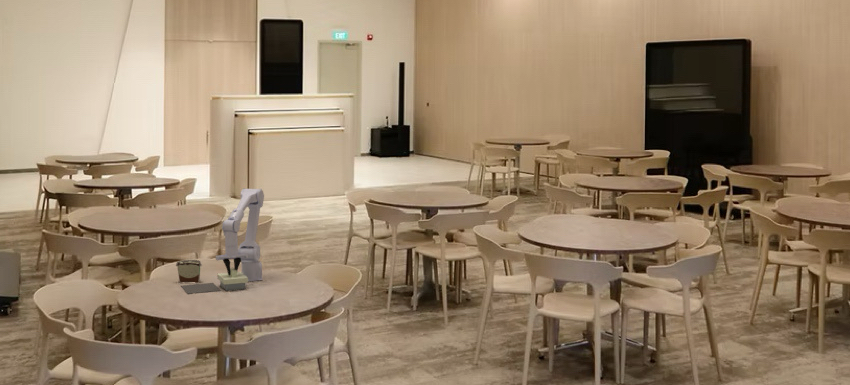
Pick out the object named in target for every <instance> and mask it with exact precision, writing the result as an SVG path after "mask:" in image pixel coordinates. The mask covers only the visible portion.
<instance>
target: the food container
mask: <svg viewBox="0 0 850 385" xmlns="http://www.w3.org/2000/svg"><path fill="white" fill-rule="evenodd" d="M175 266H176V267H177V274H178V281H179V283H180V282H195V283H194V284H199V283H200V279H201V277H200V276H201V267H202V266H203V265H202V262H201V260H197V259H184V260H178V261H176V264H175ZM198 282H199V283H198Z"/></svg>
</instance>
